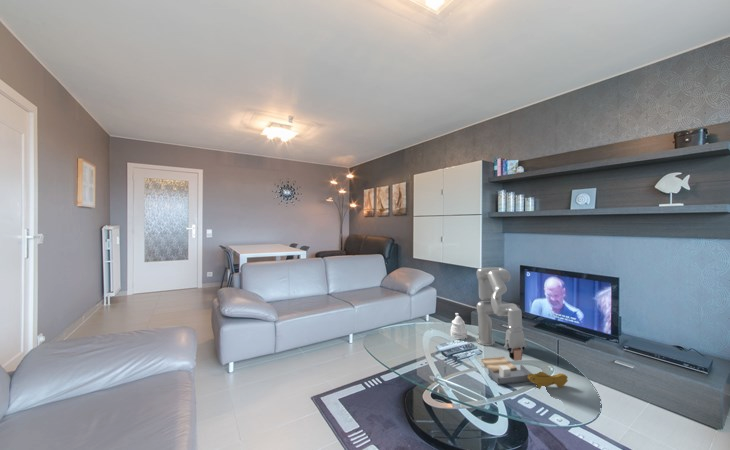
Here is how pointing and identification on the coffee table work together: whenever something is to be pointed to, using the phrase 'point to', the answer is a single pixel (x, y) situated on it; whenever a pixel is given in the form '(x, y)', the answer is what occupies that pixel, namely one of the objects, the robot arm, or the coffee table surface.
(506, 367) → the cream block
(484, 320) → the robot arm
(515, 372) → the box
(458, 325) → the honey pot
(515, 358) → the terracotta block
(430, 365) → the coffee table surface
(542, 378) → the decorative fish
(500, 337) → the coffee table surface
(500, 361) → the board
